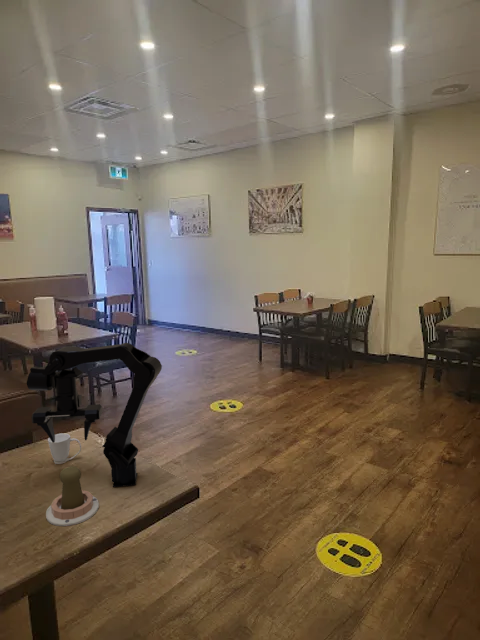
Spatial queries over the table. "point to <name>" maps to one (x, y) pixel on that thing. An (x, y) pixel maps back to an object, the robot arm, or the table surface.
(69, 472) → the brown peg
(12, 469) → the table surface
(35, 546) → the table surface
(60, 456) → the cup
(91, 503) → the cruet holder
